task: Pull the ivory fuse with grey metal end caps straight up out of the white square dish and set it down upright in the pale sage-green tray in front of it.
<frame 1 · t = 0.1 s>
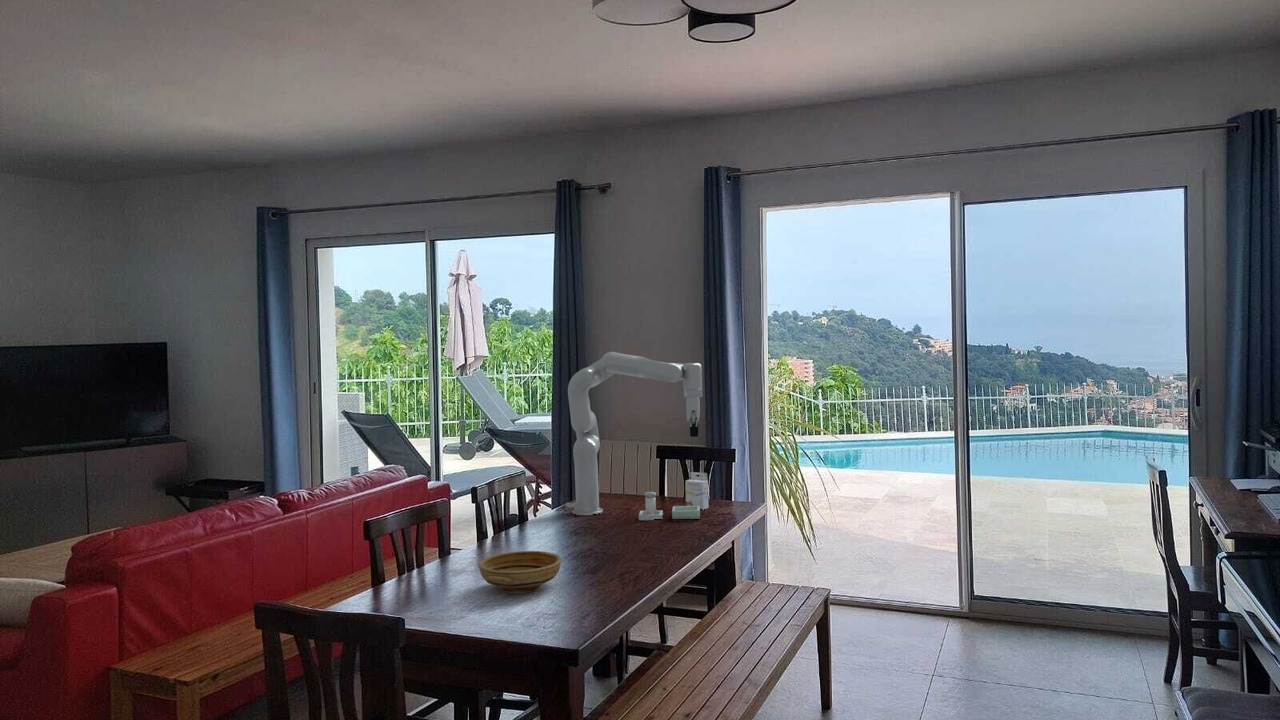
hand: (694, 435, 360), 31 cm above the table, tool pointing down, fingers open, 9 cm apart
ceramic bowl: (521, 588, 256), on the table
tray: (686, 517, 349), on the table
white square dish: (651, 517, 350), on the table
ink cartridge box: (697, 508, 366), on the table
fuse: (650, 505, 350), in the white square dish
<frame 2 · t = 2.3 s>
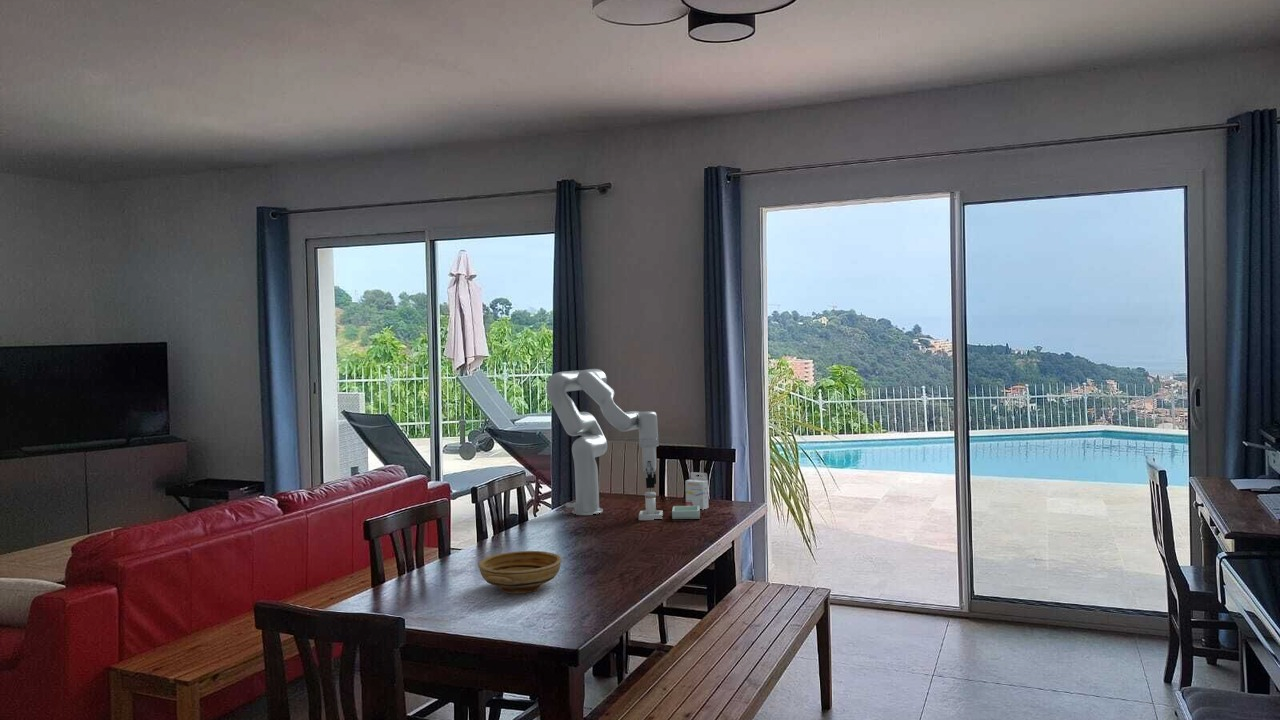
hand: (651, 485, 349), 13 cm above the table, tool pointing down, fingers open, 9 cm apart
nothing on the table moved.
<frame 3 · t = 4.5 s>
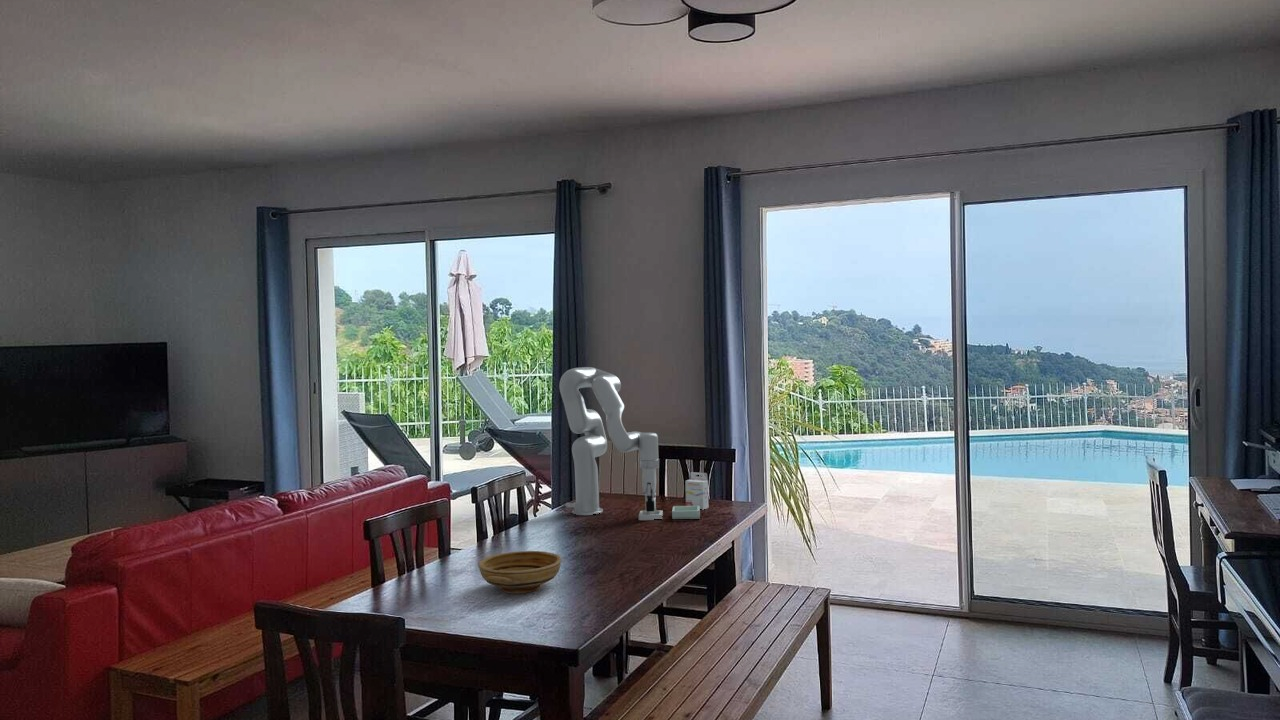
hand: (650, 509, 350), 3 cm above the table, tool pointing down, fingers closed on fuse, 4 cm apart
fuse: (650, 505, 350), in the white square dish, touching gripper
everything else where it was.
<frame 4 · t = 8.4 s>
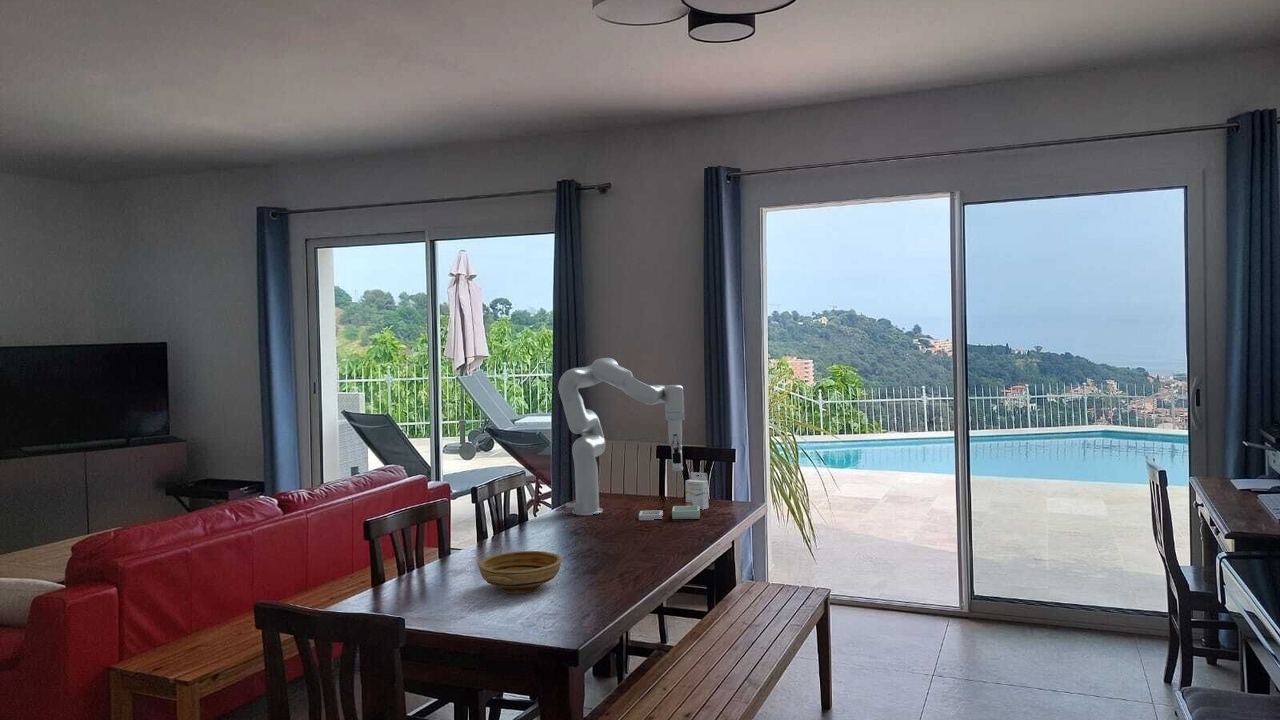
hand: (677, 462, 348), 22 cm above the table, tool pointing down, fingers closed on fuse, 4 cm apart
fuse: (677, 457, 348), point 24 cm above the table, touching gripper
everything else where it was.
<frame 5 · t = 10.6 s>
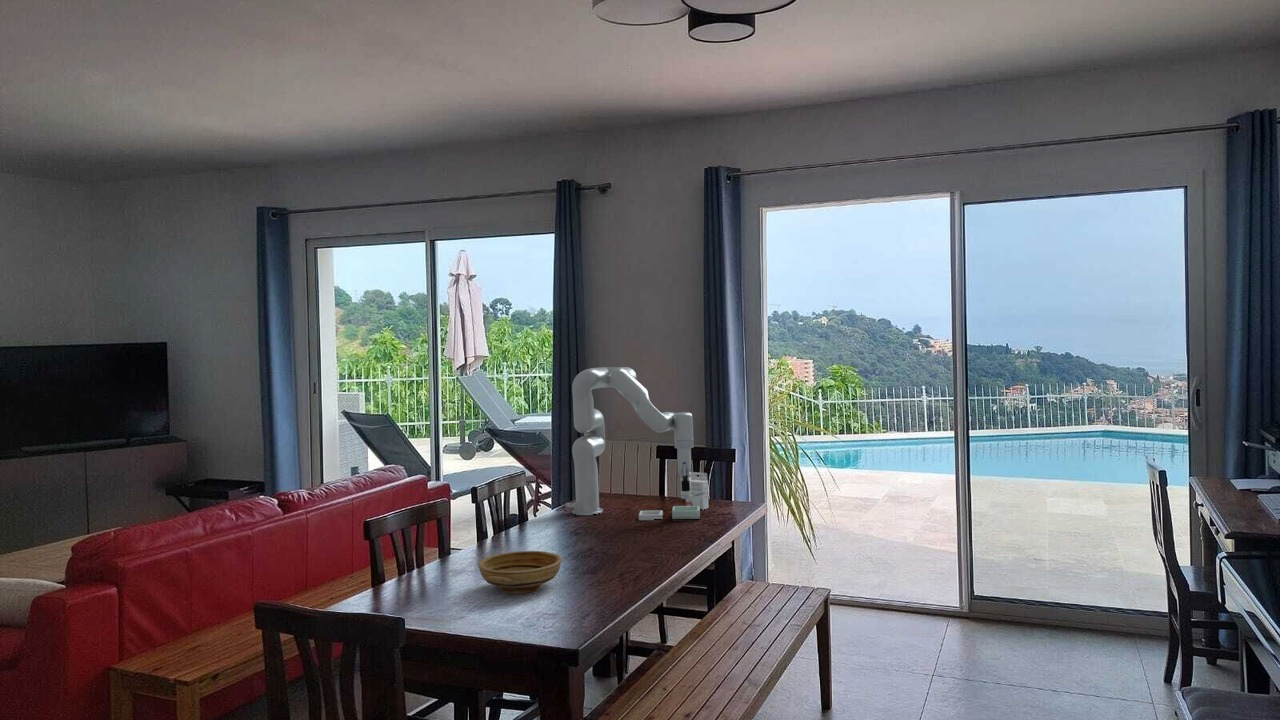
hand: (685, 489, 348), 11 cm above the table, tool pointing down, fingers closed on fuse, 4 cm apart
fuse: (685, 485, 348), point 13 cm above the table, touching gripper
everything else where it was.
when the fingers open (5 cm above the table, at t = 12.5 s): fuse stays where it is, resting on tray.
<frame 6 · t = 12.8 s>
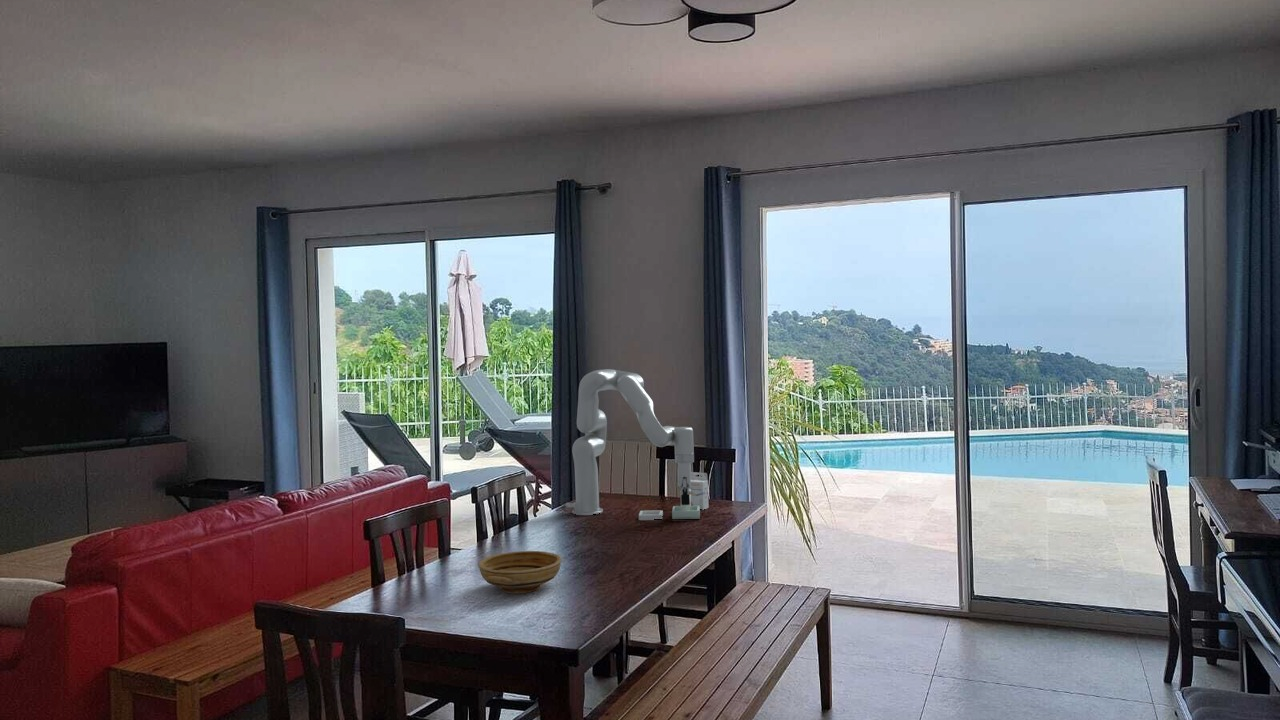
hand: (685, 502, 349), 6 cm above the table, tool pointing down, fingers open, 7 cm apart
fuse: (685, 502, 349), in the tray, point 6 cm above the table
everything else where it was.
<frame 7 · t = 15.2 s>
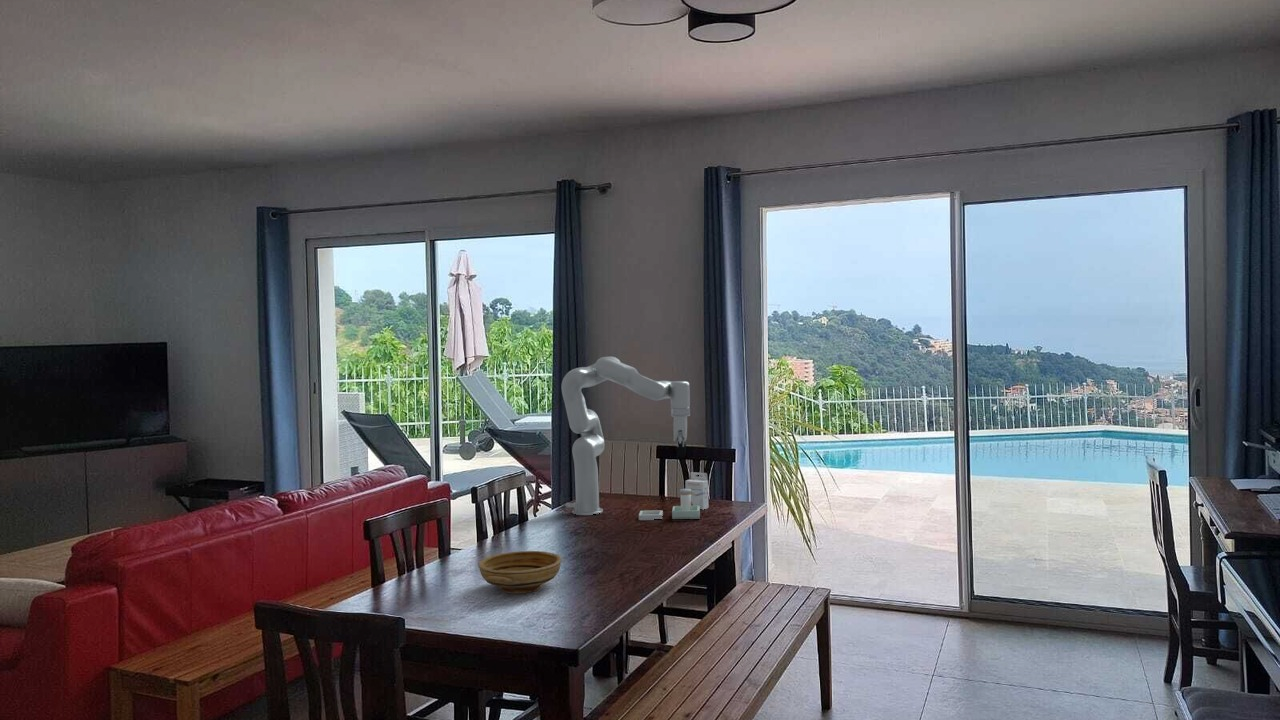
hand: (681, 455, 350), 24 cm above the table, tool pointing down, fingers open, 9 cm apart
nothing on the table moved.
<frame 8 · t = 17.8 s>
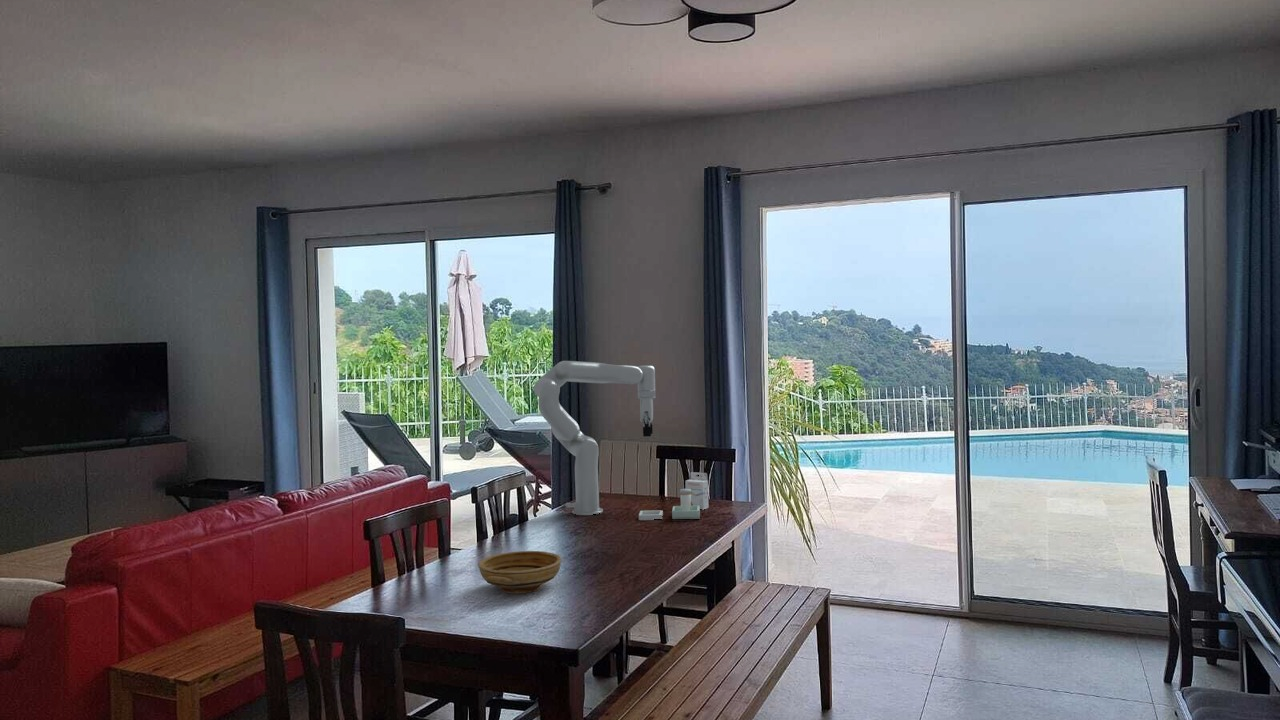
hand: (648, 435, 373), 30 cm above the table, tool pointing down, fingers open, 9 cm apart
nothing on the table moved.
at the end: fuse 0.1 cm off-centre on the tray, point 6.0 cm above the tray's base; fuse tilted 0°; the gripper is holding nothing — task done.
